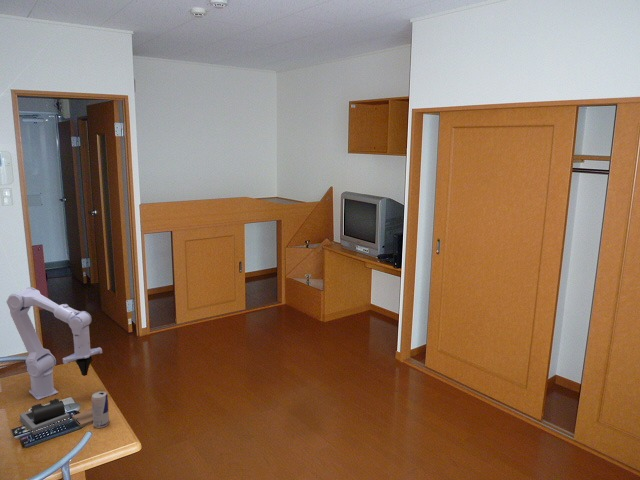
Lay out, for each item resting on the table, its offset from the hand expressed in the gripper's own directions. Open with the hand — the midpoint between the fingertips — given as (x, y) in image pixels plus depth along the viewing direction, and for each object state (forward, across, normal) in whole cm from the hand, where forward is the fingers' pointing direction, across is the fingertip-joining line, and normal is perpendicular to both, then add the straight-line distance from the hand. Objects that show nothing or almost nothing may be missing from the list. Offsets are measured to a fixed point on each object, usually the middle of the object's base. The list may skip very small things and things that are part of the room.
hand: (84, 374), depth 197 cm
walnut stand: (+10, -6, -15) cm, 19 cm away
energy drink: (+11, -4, -22) cm, 25 cm away
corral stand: (+10, -17, -5) cm, 21 cm away
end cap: (+11, -16, -6) cm, 21 cm away
